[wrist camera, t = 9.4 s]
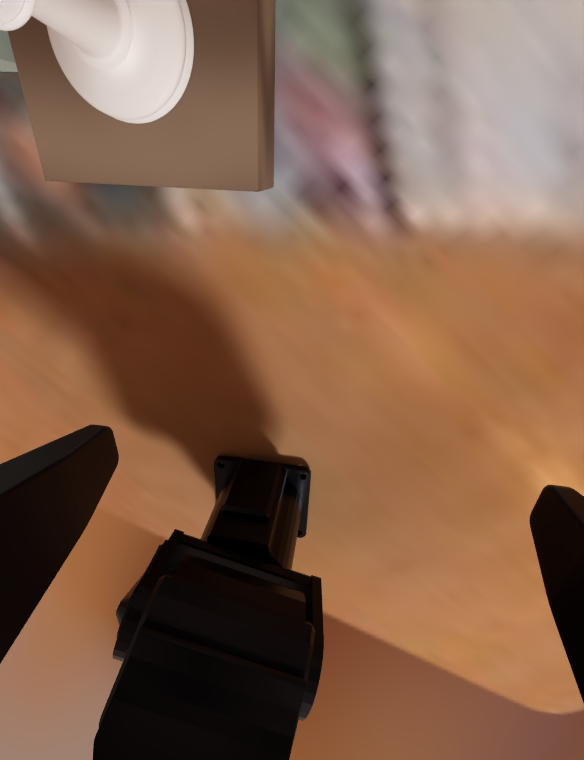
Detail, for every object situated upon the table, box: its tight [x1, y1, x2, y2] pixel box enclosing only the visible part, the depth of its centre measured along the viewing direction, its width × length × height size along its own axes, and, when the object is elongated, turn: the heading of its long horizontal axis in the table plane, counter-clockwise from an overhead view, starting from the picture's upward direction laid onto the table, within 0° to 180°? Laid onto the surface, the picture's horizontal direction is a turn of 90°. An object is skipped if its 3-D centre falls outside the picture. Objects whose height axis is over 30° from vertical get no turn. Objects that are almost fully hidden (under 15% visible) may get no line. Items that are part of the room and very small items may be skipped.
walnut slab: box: [8, 0, 275, 192], centre depth 14 cm, size 9×9×3 cm
